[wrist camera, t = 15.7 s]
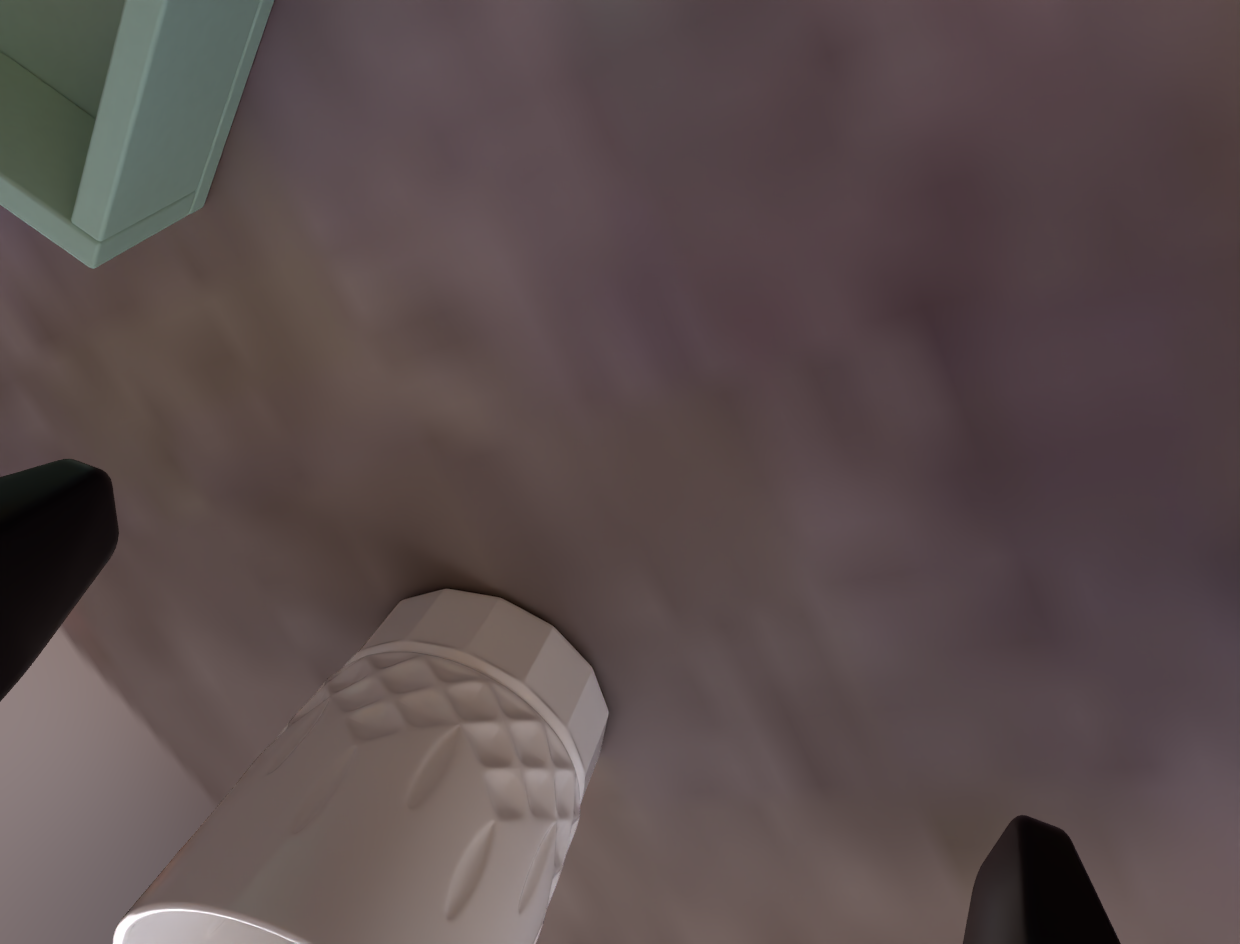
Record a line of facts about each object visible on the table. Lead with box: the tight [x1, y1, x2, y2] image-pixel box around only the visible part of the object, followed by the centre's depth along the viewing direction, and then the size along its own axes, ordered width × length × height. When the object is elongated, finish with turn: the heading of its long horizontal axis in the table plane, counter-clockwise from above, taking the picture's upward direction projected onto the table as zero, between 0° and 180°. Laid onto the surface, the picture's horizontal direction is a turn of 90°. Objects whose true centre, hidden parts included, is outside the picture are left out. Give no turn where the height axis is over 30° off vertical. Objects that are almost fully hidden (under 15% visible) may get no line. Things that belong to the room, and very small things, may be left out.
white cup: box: [113, 589, 609, 944], centre depth 25 cm, size 8×8×10 cm
